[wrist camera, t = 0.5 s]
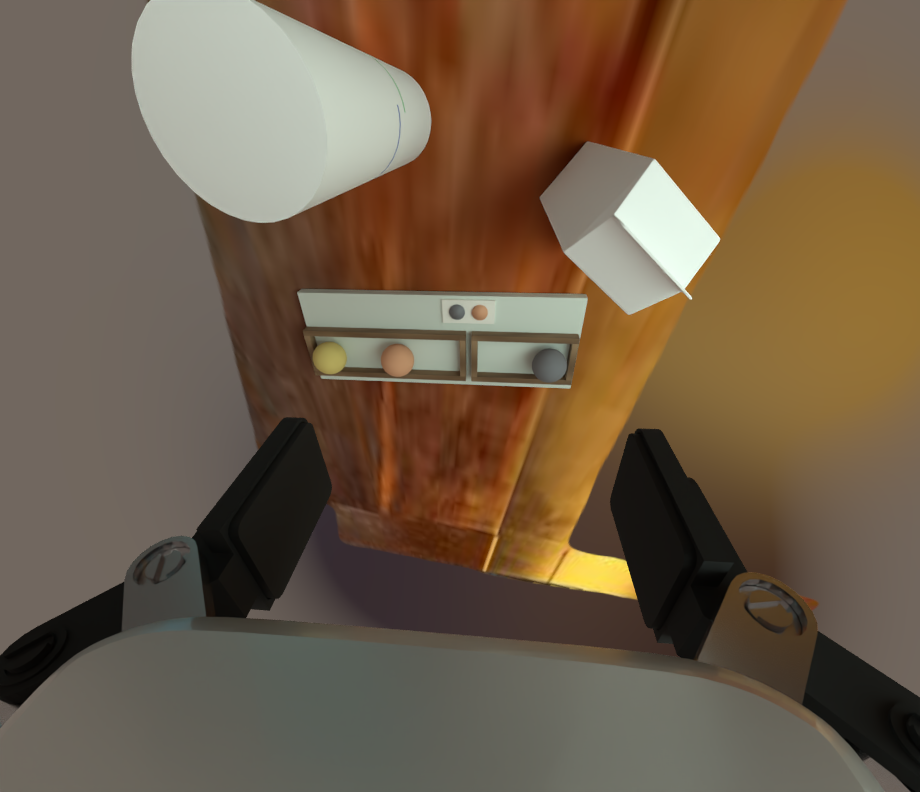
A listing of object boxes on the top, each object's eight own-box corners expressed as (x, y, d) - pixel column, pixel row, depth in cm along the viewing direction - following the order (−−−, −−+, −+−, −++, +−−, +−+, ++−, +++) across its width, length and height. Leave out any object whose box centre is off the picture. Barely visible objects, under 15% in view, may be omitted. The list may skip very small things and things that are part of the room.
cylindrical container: (358, 163, 36) (179, 217, 16) (348, 65, 32) (91, -24, 12) (431, 167, 36) (340, 228, 16) (431, 69, 32) (306, -16, 12)
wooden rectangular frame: (472, 330, 44) (471, 335, 44) (578, 333, 43) (579, 338, 42) (471, 376, 48) (471, 381, 47) (569, 379, 47) (570, 385, 46)
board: (301, 288, 45) (295, 294, 43) (585, 294, 42) (588, 299, 40) (324, 373, 52) (319, 380, 50) (569, 383, 49) (570, 390, 48)
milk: (587, 140, 34) (680, 158, 16) (629, 189, 36) (756, 253, 18) (537, 198, 37) (569, 268, 19) (579, 240, 39) (644, 340, 21)
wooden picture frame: (306, 326, 46) (302, 330, 45) (466, 330, 45) (465, 335, 44) (319, 370, 50) (315, 375, 49) (466, 375, 48) (465, 381, 47)
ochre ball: (316, 335, 47) (303, 351, 44) (348, 336, 47) (336, 352, 43) (324, 362, 49) (311, 379, 46) (353, 363, 49) (343, 381, 46)
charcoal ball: (532, 341, 45) (534, 358, 41) (566, 342, 44) (571, 360, 41) (529, 370, 47) (531, 388, 44) (562, 371, 47) (566, 390, 43)
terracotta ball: (383, 337, 46) (374, 353, 43) (415, 338, 46) (408, 354, 43) (387, 365, 49) (379, 382, 45) (418, 366, 48) (412, 383, 45)
